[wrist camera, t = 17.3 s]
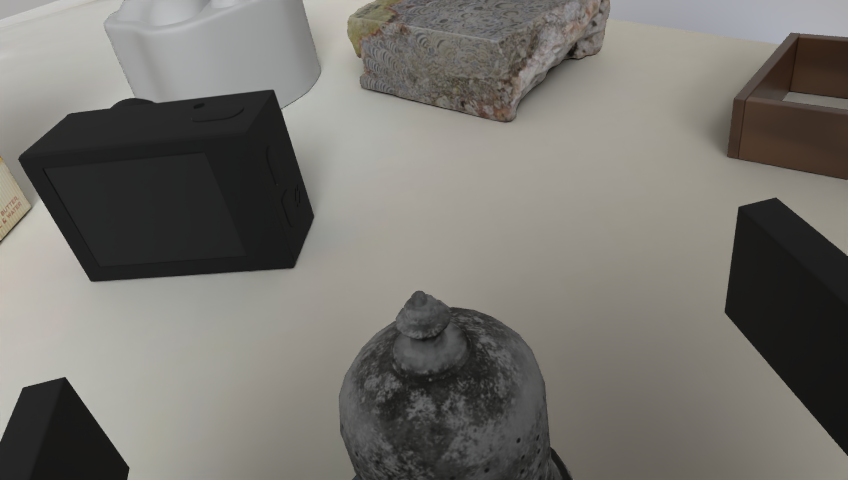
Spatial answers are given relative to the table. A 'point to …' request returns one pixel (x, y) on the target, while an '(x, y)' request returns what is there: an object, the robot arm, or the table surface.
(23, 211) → the coffeecake box
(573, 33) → the geological specimen
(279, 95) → the lumpy-topped squat cylinder
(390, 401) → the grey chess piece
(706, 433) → the table surface
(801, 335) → the robot arm
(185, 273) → the digital camera
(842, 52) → the shaker holder
